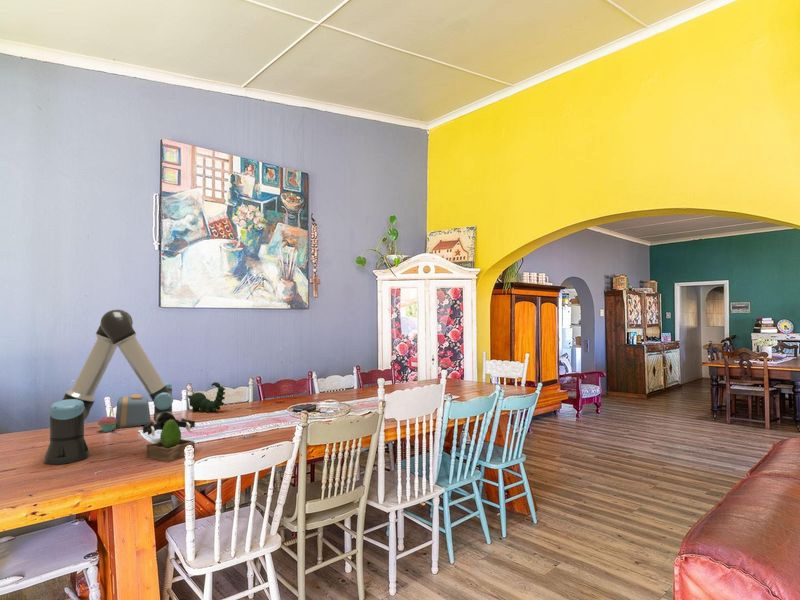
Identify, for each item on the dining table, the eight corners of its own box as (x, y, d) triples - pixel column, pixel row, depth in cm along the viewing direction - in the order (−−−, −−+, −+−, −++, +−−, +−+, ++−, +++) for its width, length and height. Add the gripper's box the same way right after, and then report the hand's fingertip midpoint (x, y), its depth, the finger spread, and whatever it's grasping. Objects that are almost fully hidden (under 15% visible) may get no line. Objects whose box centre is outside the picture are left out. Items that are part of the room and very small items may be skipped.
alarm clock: (116, 423, 268) (116, 393, 268) (150, 419, 276) (150, 390, 276) (115, 429, 254) (115, 398, 254) (150, 425, 261) (150, 395, 262)
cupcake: (121, 428, 254) (121, 405, 255) (109, 433, 246) (110, 408, 246) (105, 428, 255) (105, 405, 255) (93, 432, 247) (93, 408, 247)
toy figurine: (226, 413, 298) (191, 407, 304) (228, 382, 297) (193, 377, 304) (216, 417, 289) (180, 411, 295) (219, 384, 288) (183, 379, 295)
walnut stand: (167, 461, 199) (167, 449, 199) (146, 457, 205) (146, 445, 205) (194, 453, 210) (194, 441, 210) (174, 449, 217) (174, 437, 217)
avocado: (162, 452, 202) (162, 422, 203) (158, 447, 209) (158, 419, 209) (183, 448, 207) (183, 419, 207) (178, 444, 213) (178, 416, 214)
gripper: (195, 425, 230) (203, 435, 212) (134, 433, 217) (137, 444, 199) (195, 409, 230) (203, 417, 212) (134, 415, 217) (137, 425, 199)
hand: (171, 430), depth 205 cm, fingers open, 13 cm apart
